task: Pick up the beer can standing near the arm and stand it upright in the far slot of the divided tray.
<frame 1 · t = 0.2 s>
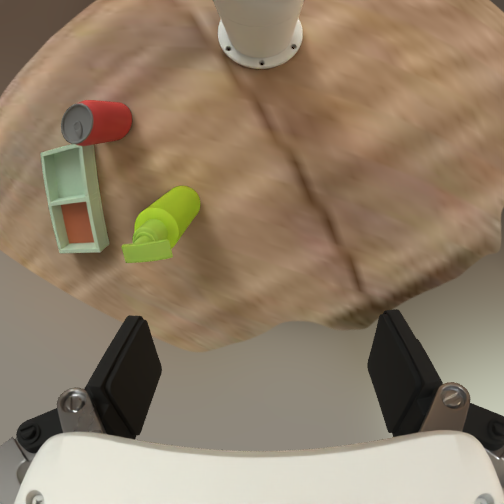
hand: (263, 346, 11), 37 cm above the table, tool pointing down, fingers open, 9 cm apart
beer can: (116, 121, 41), on the table
soap dispenser: (186, 202, 46), on the table
divided tray: (78, 196, 46), on the table
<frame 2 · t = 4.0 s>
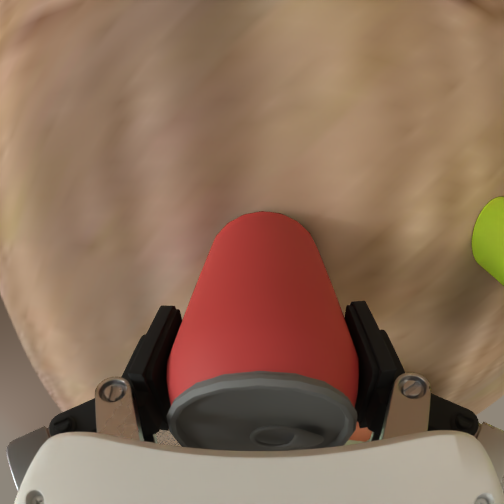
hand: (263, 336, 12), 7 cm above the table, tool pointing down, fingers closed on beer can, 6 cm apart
beer can: (263, 258, 18), on the table, touching gripper
soap dispenser: (497, 226, 16), on the table
divided tray: (326, 401, 24), on the table
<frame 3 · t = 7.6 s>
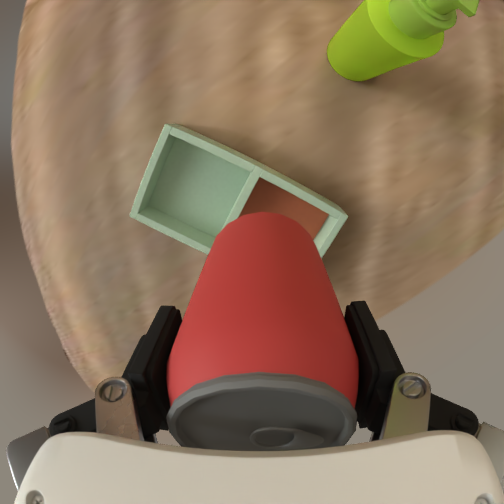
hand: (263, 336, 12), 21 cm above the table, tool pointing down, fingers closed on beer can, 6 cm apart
beer can: (263, 259, 18), point 14 cm above the table, touching gripper
soap dispenser: (355, 52, 24), on the table
divided tray: (238, 204, 31), on the table
when the fingers open (8 cm above the table, at t = 11.1 s): beer can stays where it is, resting on divided tray.
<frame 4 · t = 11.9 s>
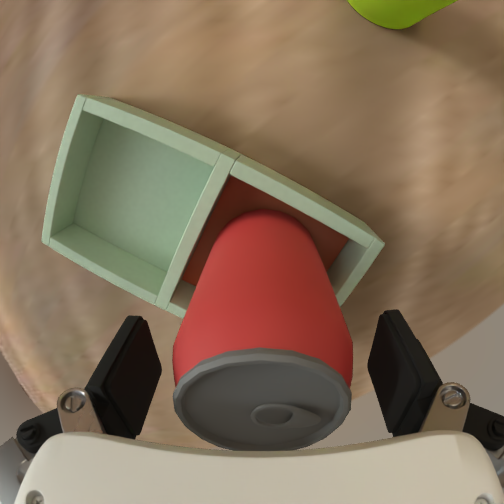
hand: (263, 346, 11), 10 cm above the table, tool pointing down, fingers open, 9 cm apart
beer can: (264, 254, 19), point 1 cm above the table, touching divided tray
divided tray: (201, 220, 19), on the table
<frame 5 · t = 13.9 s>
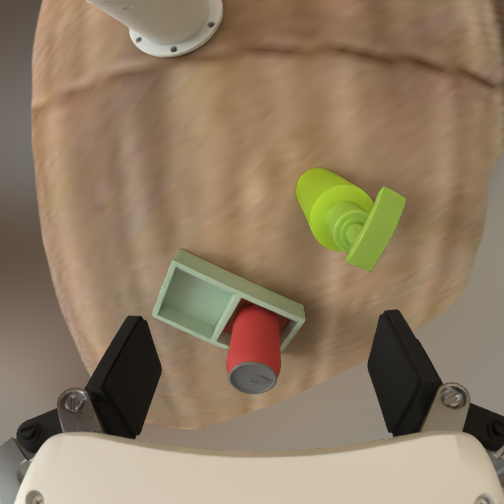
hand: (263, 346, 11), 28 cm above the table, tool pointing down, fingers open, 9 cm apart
beer can: (256, 319, 43), point 1 cm above the table, touching divided tray
soap dispenser: (320, 186, 36), on the table
divided tray: (228, 304, 43), on the table
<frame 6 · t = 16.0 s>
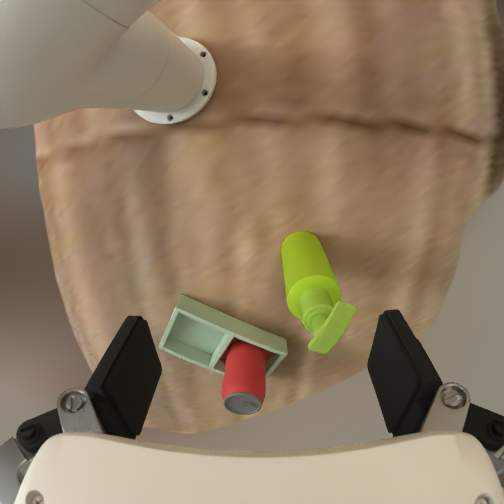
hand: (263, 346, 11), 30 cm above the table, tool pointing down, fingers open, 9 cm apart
beer can: (246, 350, 49), point 1 cm above the table, touching divided tray
soap dispenser: (302, 246, 42), on the table
divided tray: (223, 337, 49), on the table
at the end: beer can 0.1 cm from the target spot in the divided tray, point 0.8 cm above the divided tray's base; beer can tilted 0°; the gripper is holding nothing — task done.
